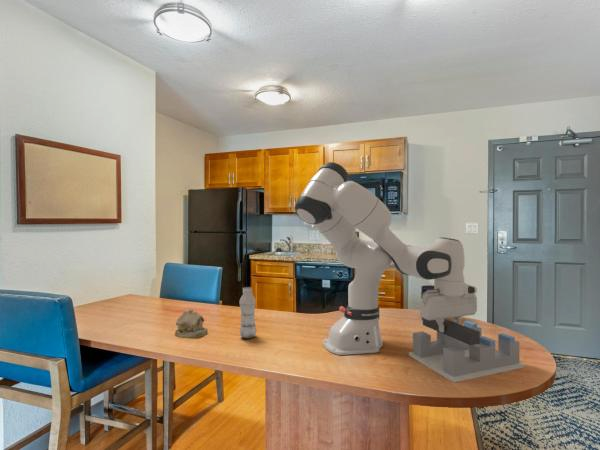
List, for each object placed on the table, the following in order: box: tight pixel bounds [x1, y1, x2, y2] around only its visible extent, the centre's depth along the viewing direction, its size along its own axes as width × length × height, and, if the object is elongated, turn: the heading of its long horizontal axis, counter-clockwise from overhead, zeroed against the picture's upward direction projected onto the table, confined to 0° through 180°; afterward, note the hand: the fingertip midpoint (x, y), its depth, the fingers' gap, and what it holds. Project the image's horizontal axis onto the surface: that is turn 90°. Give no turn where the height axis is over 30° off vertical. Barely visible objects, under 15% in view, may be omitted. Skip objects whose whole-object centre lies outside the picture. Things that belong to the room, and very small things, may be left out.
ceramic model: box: [174, 309, 208, 339], centre depth 136 cm, size 14×11×10 cm
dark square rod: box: [422, 318, 480, 345], centre depth 105 cm, size 4×20×4 cm, turn 20°
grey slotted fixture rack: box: [408, 320, 526, 384], centre depth 106 cm, size 28×20×10 cm
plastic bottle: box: [239, 286, 257, 339], centre depth 131 cm, size 6×7×20 cm
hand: (448, 330), depth 105 cm, fingers closed on dark square rod, 4 cm apart
